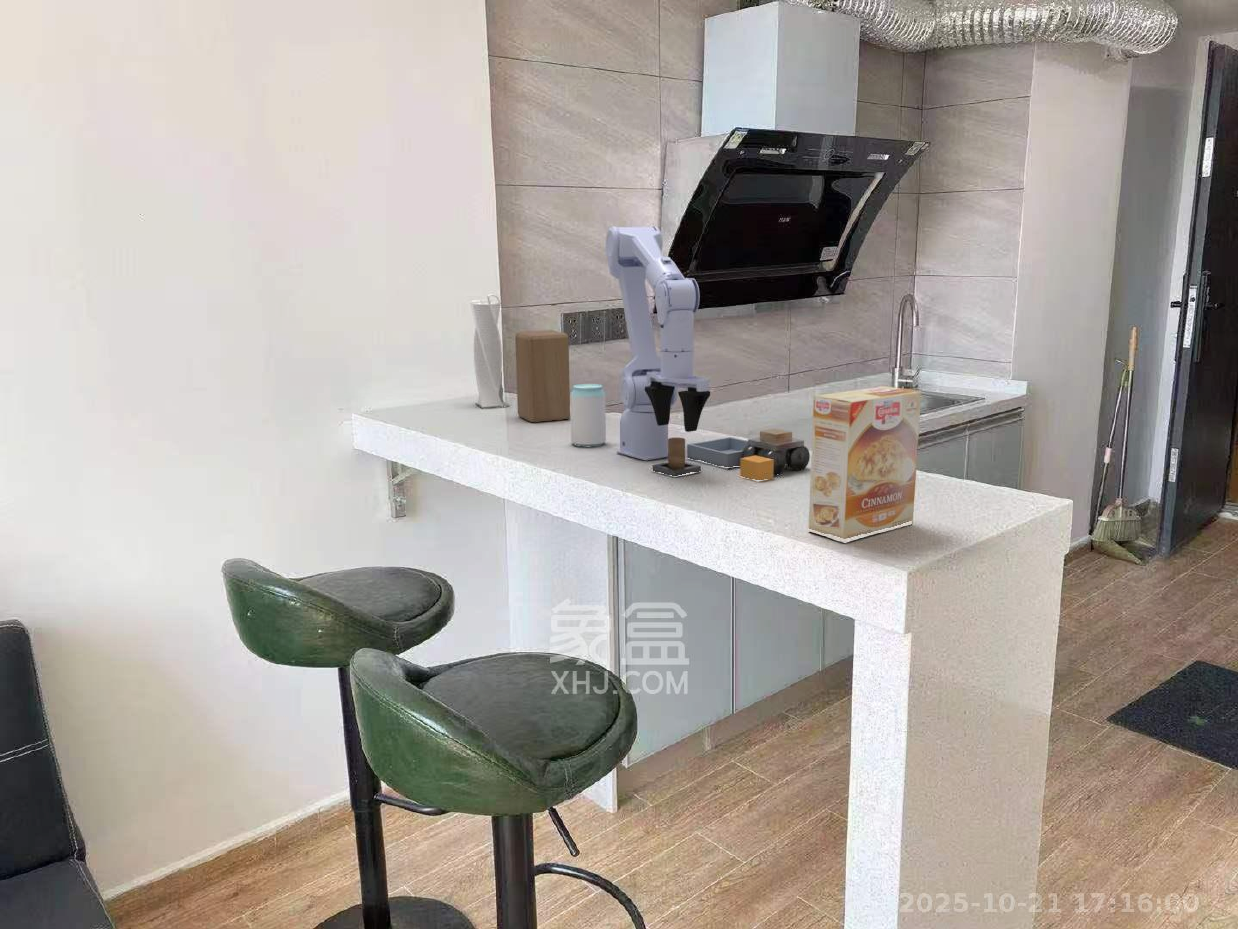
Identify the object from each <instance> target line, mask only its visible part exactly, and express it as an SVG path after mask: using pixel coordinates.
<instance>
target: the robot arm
mask: <svg viewBox="0 0 1238 929" xmlns="http://www.w3.org/2000/svg"><path fill="white" fill-rule="evenodd" d="M605 253H606V260H607V265H608V266H607V267H608V269H609V274H610V275H611V276H612V277H614V278H615V279H617V281H618V285H619V288H620V294H621V299H622V305H623V311H624V318H625V324H626V329H627V335H628V341H629V348H630V353H631V360H630V362H629V363H627V364H626V365H625V366H624V367H623V369H622V371H621V373H620V376H619V378H620V398H621V401H622V404H623V405H624V406H625V408H626V409H625V410H624V411H623V412H622V414H621V416H620V420H619V446H620V447H619V449H617V450H616V453H617V454H620V455H624V456H628V457H631V458H635V459H639V460H641V461H642V460H643V461H651V460H657V459H662V458H668V439H669V423H670V419H671V418H670V417H671V416H670V415H671V410H672V406H674V405H675V404H676V402H677V399H678V398H679V399H680V402H681V407H682V411H683V412H682V413H683V425H684V426H683V427H684V431H685V432H686V433H690V432H695V431H697V430H698V426H699V422H700V419H701V416H702V415H701V414H702V412H703V409H704V406H705V404H706V403H707V401H708V400H709V398H710V396H711V391H710V380H709V379H708V378H703V377H700V376H697V375H695V374H694V350H695V349H694V348H695V347H694V344H695V343H694V342H695V341H694V336H695V335H694V333H695V332H694V331H695V328H694V326H695V325H694V324H695V323H694V320H695V318H694V317H695V316H694V315H695V314H696V313H697V311H698V309H699V306H700V298H701V296H700V295H701V294H700V288H699V287H700V286H699V284H698V282H697V281H696V279H695V278H694V277H693V278H689V277H685V276H684V275H683V273H682V272H681V270H680V269H679V268H678V266H677V264H676V263H675V261H673V259H671V257H670V256H665V255H664V254H663V235H662V232H661V230H660V228H659V227H658V226H656V225H655V226H654V225H653V226H638V227H637V226H629V227H628V226H626V227H625V226H623V227H622V226H619V227H618V226H614V225H613V226H611V227H610V228H609V229H608V230H607V232H606V237H605ZM646 281H647V284H648V285H649V286H650V287H651V289H652V291H653V293H654V294H655V296H654V303H655V308H656V312H657V324H659V325H660V326H659V327H660V329H659V330H660V334H659V335H660V336H659V337H660V338H659V340H660V341H659V342H660V343H659V344H660V347H659V348H660V349H659V350H660V353H659V354H660V355H658V352H657V345H656V340H655V334H654V328H653V322H652V317H651V312H650V306H649V299H648V294H647V292H648V291H647V287H646V283H645V282H646ZM679 388H682V389H687V390H681V391H680V390H679ZM678 396H679V397H678Z"/></svg>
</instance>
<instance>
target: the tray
mask: <svg viewBox="0 0 1238 929" xmlns="http://www.w3.org/2000/svg"><path fill="white" fill-rule="evenodd" d="M746 446H748V440H746V439H742V438H737V437H732V436H730V437H729V436H728V437H722V438H715V439H710V440H705V441H700V442H694V443H687V445H686V459H687V458H690V459H693V460H701V461H704V462H707V463H711V464H714V465H717V466H724V467H733V466H740V458H741V454H742V451H743V450H744V448H745V447H746ZM763 449H764V448H763ZM764 450H766V449H764ZM693 460H692V461H693ZM717 466H716V467H717Z"/></svg>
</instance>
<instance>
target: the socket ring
mask: <svg viewBox="0 0 1238 929" xmlns="http://www.w3.org/2000/svg"><path fill="white" fill-rule="evenodd" d="M651 469H652V470H653V471H655V472H661V473H664V474H667V475H672V476H678V475H682V474H686V473H690V472H699V471H701V472H702V466H701V465H698V464H695V463H690V462H687V461H685V468H681V469H676V470H674V469H671V468H668V461H667V462H662V463H661V462H660V463H655V464H652V468H651ZM655 472H654V473H655Z"/></svg>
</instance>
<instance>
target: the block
mask: <svg viewBox="0 0 1238 929" xmlns="http://www.w3.org/2000/svg"><path fill="white" fill-rule="evenodd" d="M569 338H570V337H569V335H568V333H566V332H562V331H558V330H553V329H552V330H551V329H550V330H548V329H547V330H530V331H525V330H524V331H518V332H516V333H515V337H514V340H515V341H514V342H515V343H514V344H515V365H516V366H515V370H516V397H517V398H516V402H517V405H516V406H517V414H518V417H520V418H521V419H523V420H526V421H527V422H531V423H533V422H536V423H542V422H541V421H547V422H553V421H552V420H558V421H564V420H563V419H567V420H568V419H571V406H570V394H571V390H570V384H571V383H570V350H569V349H570V347H569V346H570V345H569V342H570V341H569Z"/></svg>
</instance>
